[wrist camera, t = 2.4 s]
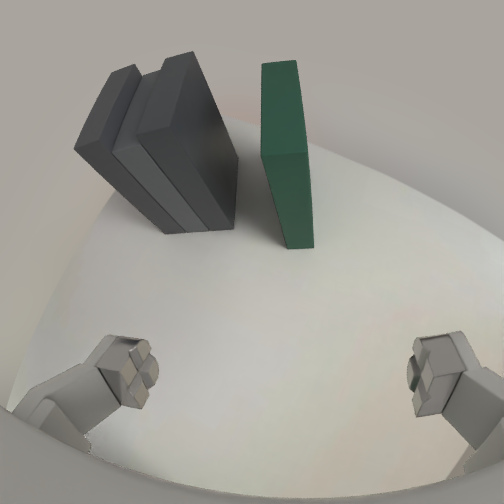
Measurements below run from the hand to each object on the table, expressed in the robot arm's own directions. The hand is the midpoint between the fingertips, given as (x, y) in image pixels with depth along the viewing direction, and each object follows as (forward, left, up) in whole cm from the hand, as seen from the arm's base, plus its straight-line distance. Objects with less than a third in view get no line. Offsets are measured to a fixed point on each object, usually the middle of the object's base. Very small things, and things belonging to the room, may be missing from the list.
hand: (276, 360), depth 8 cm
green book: (+12, -8, -17) cm, 23 cm away
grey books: (+20, -1, -17) cm, 26 cm away
